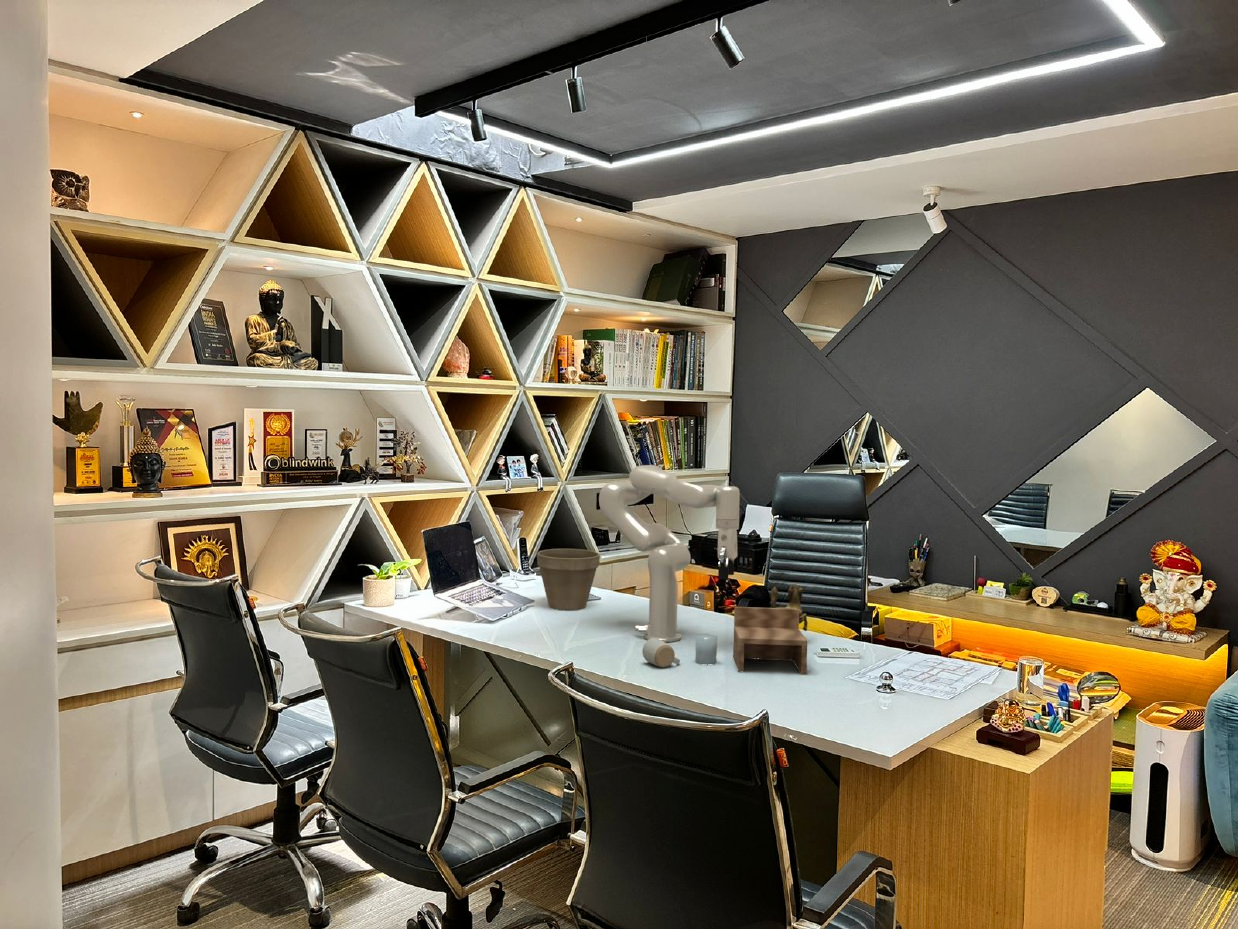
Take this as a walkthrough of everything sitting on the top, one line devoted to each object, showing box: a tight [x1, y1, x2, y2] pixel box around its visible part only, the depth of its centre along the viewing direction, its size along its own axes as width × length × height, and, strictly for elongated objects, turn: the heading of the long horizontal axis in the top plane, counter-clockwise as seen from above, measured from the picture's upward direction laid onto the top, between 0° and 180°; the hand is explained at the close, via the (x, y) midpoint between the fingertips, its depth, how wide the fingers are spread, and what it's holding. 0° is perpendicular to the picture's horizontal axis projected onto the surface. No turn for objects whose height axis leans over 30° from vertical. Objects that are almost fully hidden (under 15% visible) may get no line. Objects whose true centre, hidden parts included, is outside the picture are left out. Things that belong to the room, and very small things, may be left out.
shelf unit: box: [732, 606, 808, 675], centre depth 276 cm, size 20×17×16 cm
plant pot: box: [536, 548, 601, 612], centre depth 358 cm, size 25×25×22 cm
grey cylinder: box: [694, 633, 718, 666], centre depth 278 cm, size 6×6×8 cm
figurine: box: [770, 583, 808, 632], centre depth 305 cm, size 13×25×20 cm, turn 134°
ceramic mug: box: [641, 638, 681, 669], centre depth 274 cm, size 11×8×8 cm
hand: (726, 576), depth 295 cm, fingers open, 9 cm apart
